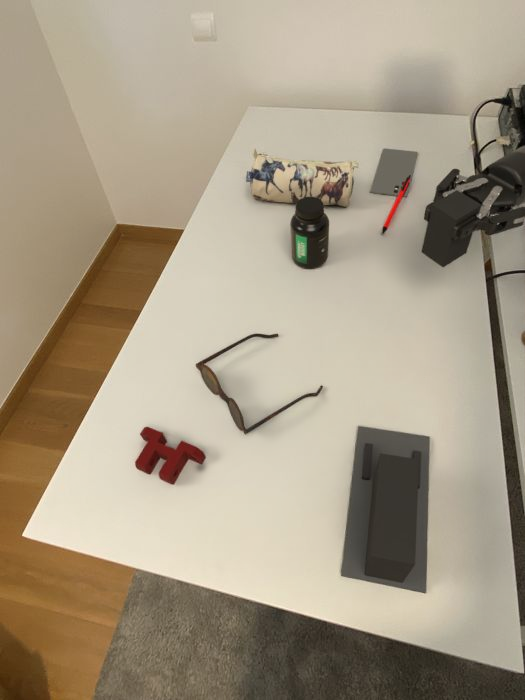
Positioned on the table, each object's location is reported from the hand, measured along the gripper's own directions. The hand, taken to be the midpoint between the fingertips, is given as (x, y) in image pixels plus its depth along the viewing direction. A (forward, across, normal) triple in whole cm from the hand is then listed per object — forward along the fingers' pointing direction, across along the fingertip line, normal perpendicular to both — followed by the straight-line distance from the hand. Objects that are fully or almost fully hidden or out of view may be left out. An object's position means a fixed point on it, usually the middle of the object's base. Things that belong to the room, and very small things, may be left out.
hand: (440, 224), depth 71 cm
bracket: (+49, +2, -18) cm, 52 cm away
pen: (-16, +22, -18) cm, 32 cm away
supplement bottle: (+7, +21, -18) cm, 29 cm away
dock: (+27, -22, -18) cm, 39 cm away
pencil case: (-3, +36, -18) cm, 40 cm away
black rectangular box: (-3, 0, -7) cm, 7 cm away
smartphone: (-23, +30, -18) cm, 42 cm away
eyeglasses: (+30, +4, -18) cm, 35 cm away
